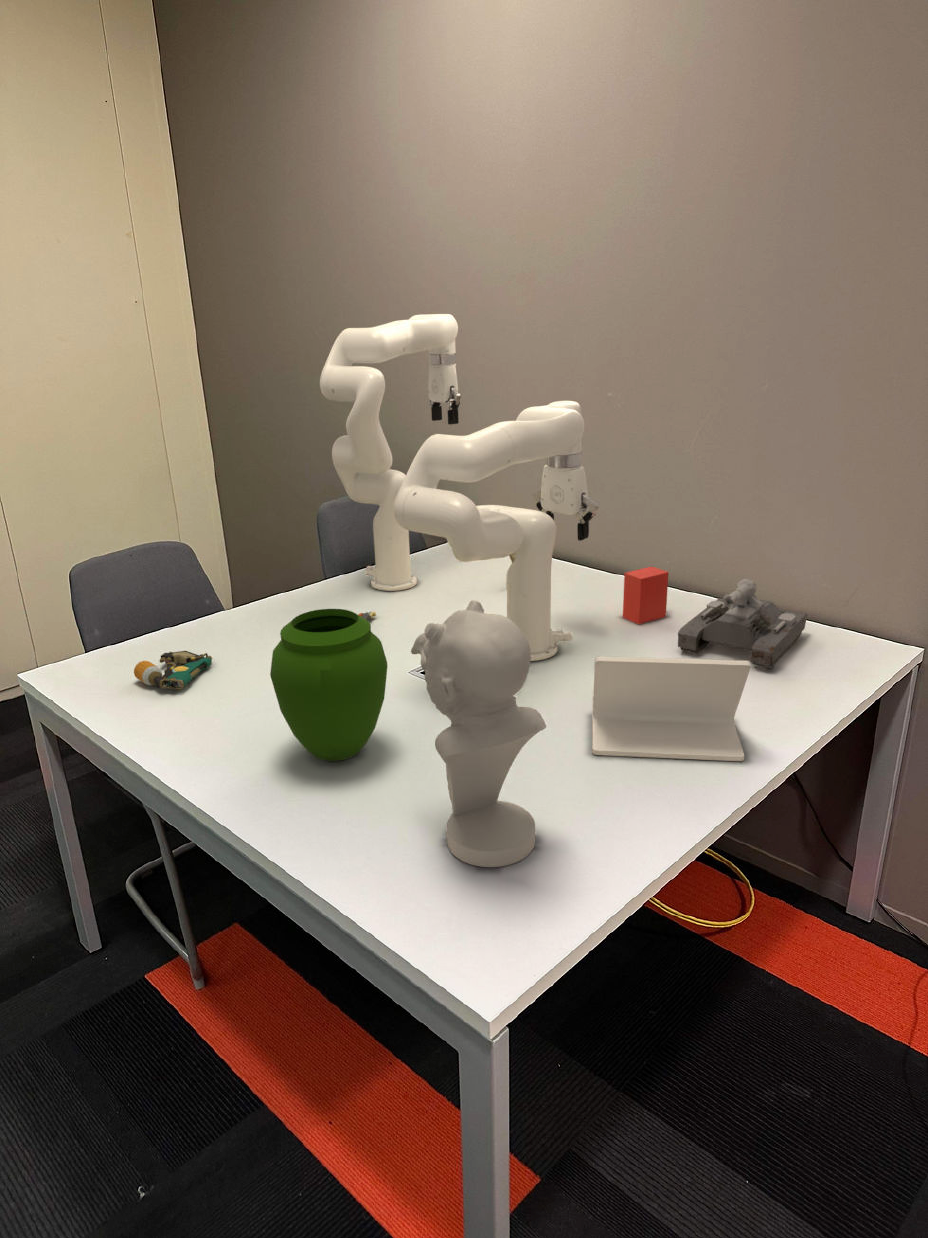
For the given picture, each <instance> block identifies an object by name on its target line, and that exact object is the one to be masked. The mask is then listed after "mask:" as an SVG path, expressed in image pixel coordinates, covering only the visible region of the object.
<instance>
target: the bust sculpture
mask: <svg viewBox="0 0 928 1238" xmlns="http://www.w3.org/2000/svg"><path fill="white" fill-rule="evenodd" d="M530 653H531V652H530V646H529V643H528V640H527V638H526V636H525V634H524V633H523V632H522V630H521V629H520V628H519V627H518V626H517V625H516V624H515V623H514V622H513V621H512V620H511V619H509V618H507V616H504V615H503V614H502V615H501V614H496V613H485V609H484V607H483V605H482V603H481V602H480V601H478V600H473V599H472V600H470V601H469V603H468V605H467V607H466V609H460V610H457V611H455V612H453V613H451V615H449V616H448V617H447V618H446V619H445V620H444V622H442V624H441V623H435V622H430V623H428V624H427V625H426V626H425V628H424V632H423V633H421V634H419V635H418V636H417V637H416V638H415V640H414V642H413V645H412V647H411V649H410V654H412V655H420V667H421V669H422V670H423V672H424V681H425V682H426V690H427V693H428V696H429V698H430V701H431V702H432V704H434V706H435V708H436V710H438V711H439V712H440V713H441V714H442V716H446V717H447V718H448V719H449V720H450V726H448V727H446V728H445V729H443V730H442V731H441V732H440V733H439V734H438V735H436V738H435V741H434V748H435V749H436V752H437V753H438V755H439V757H440V758H441V760H442V761H443V762H444V763H445V771H446V781H447V790H448V796H449V800H450V803H451V810H452V813H451V814H450V815H449V817H448V819H447V822H446V844H447V847H448V849H449V851H450V852H451V854H452V855H453V856H454V857H456V858H457V859H459V860H460V861H462V862H463V863H466V864H469V865H471V866H476V867H483V868H498V867H505V866H509V865H512V864H517V862H520V861H521V860H523V859H525V858H527V856H528V855H530V854H531V852H532V851H533V849H535V848H534V847H535V845H536V822H535V821H536V820H535V819H534V817H533V816H532V814H531V813H530V812H529V811H528V810H526V809H525V808H524V807H522V806H520V805H517V804H515V803H513V802H509V801H504V800H499V796H500V793H501V790H502V788H503V785H504V783H505V780H506V778H507V776H508V773H509V771H510V769H511V768H512V765H513V763H514V761H515V760H516V759H517V756H518V755H519V753H520V752H521V750H522V749H523V748H524V747H525V745H526V744H527V743H528V742H529V741H530V740H531V739H532V738H533V737H535V735H537V734H538V733H539V732H541V731H544V730H545V729H546V728H547V725H546V723H545V720H544V718H543V717H542V714H541V713H540V712H539V711H538V710H537V709H535V708H533V707H530V706H518V705H517V701H516V699H517V698H516V696H515V695H516V694H517V693H519V691H521V689H522V688H523V686H524V684H525V683H526V680H527V678H528V675H529V669H530V666H531V661H530V656H531V655H530Z"/></svg>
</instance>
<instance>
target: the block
mask: <svg viewBox="0 0 928 1238" xmlns="http://www.w3.org/2000/svg"><path fill="white" fill-rule="evenodd" d="M623 576H624V577H623V601H622V602H623V603H622V618H623V619H625V620H628V621H630V622H632V623H635V624H637V625H642V624H645V623H649V622H652V621H656V620H659V619H663V618H666V617H667V607H668V605H667V604H668V587H669V586H668V585H669V571H667V570H665V569H664V570H663V569H661V568H658V567H655V566H649V567H644V568H640V569H635V570H631V571H627V572H624V575H623Z"/></svg>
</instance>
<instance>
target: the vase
mask: <svg viewBox="0 0 928 1238" xmlns="http://www.w3.org/2000/svg"><path fill="white" fill-rule="evenodd" d="M371 625H372V624H371V623H370V620H369V621H367V620H366V619H365V618H363V617H361V616H359V615H358V614H357V613H356V612H354V611H352V610H348V609H343V608H321V609H315V610H310V611H307V612H304V613H301V614H299V615H297V616H295V617H293V618H292V619H291V620H290V621H289V622H288V623H287V624H285V625H284V626H283V627H282V628H281V629H280V631H279V635H280V641H279V642H278V643H277V645H276V646H275V647H274V649H273V650H272V655H271V663H270V672H269V676H270V679H271V683H272V686H273V690H274V693H275V696H276V700H277V703H278V707H279V710H280V712H281V714H282V716H283V718H284V720H285V722H286V724H287V725H288V728H289V729H290V731H291V733H292V735H293V736H294V737H295V739H296V740H297V741H298V742H299V744H300V745H301V746H302V747H303V748H304V750H306V751H307V752H308V753H309V754H311V755H312V756H313V757H315V758H316V759H319V760H321V761H327V762H339V761H345V760H347V759H350V758H352V757H354V756H357V755H358V754H359V753H360V752H361V750H363V748H364V747H365V746H366V744H367V743H368V741H369V740H370V738H371V736H372V734H373V732H374V730H375V729H376V726H377V725H378V720H379V717H380V714H381V711H382V707H383V704H384V701H385V697H386V686H387V678H388V677H387V675H388V660H387V657H386V654H385V650H384V646H383V644H382V641H381V639H380V638H379V637H378V636H377V635H375V633H374V632H372V629H371V628H372V626H371Z"/></svg>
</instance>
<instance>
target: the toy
mask: <svg viewBox="0 0 928 1238" xmlns="http://www.w3.org/2000/svg"><path fill="white" fill-rule="evenodd" d="M757 590H758V589H757V584H756V583H755V582H754V580H752V579H750V578H743V579H741V580H740V581H738V582H737V585H736V588H735V589H734V590H733V591H732V592H730V593H725V594H724V596H723V597H722V598H720V597H719V598H717V599H716V600H711V601H710V602H709V603H707V604H706V607H705V608H704V609H703V610H701V612H699V613H698V614H697V615H696V616H694V617H692V619H690V620H688V622H686V623H685V624H684V625H682V626H681V627H680V629H679V630H678V632H677V647H679V649H680V650H681V651H683V652H688V653H693V654H699V653H700V652H701V651H703V650H704V649H705V648H706V647H707V646H708V645H710V644H713V645H718V646H724V647H728V648H734V649H738V650H743V651H748V652H750V661H749V662H750V663H752V665H755V666H759V667H764V668H769V669H772V668H773V667H774V665H776V664H777V662H778V661H779V660H781V658H782V657H783V656H784V655H785V654H786V652H788V651H789V650H790V648H791V647H792V646H793V645H794V644H795V643H797V640H799V638H801V635H802V633H803V631H804V630H805V628H806V624H807V619H808V613H803V612H799V611H793V610H786V611H785V612H783V611H781V610H780V608H778V606H777V605H775V603H774V602H773V601H772V600H765V599H759V598H758V596H756V595H755V594H756V592H757Z"/></svg>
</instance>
